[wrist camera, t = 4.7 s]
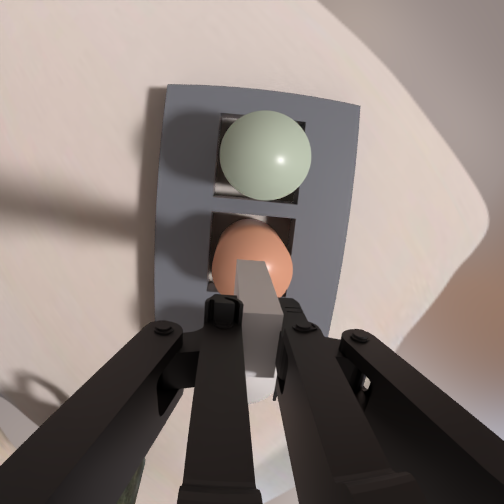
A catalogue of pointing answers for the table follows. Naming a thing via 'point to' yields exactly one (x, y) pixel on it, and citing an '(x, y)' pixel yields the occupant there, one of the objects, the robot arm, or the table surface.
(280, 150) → the sage button
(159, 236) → the button board
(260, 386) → the grey button
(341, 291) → the table surface
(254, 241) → the terracotta button
